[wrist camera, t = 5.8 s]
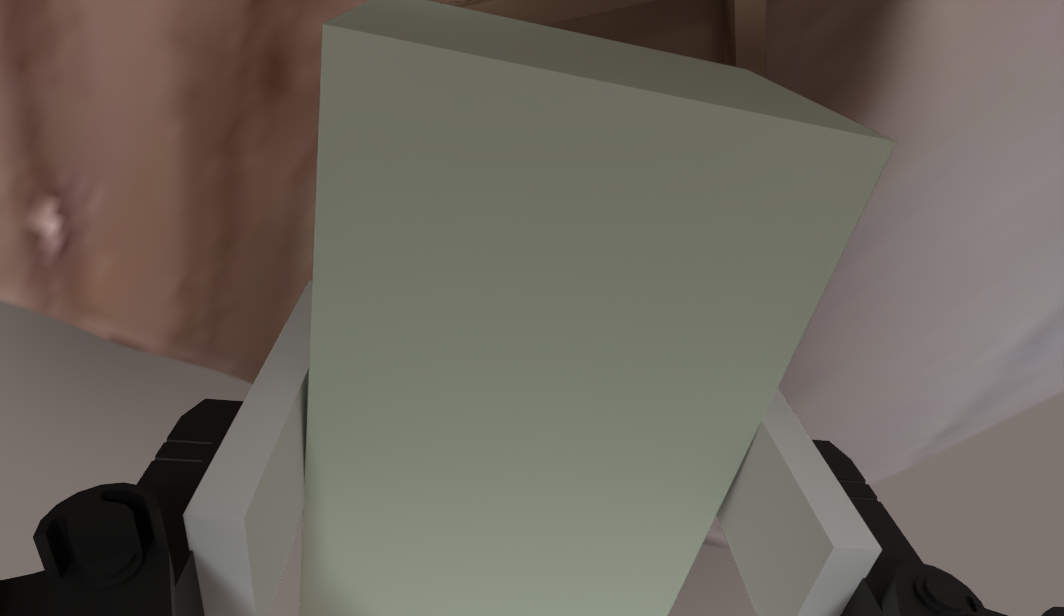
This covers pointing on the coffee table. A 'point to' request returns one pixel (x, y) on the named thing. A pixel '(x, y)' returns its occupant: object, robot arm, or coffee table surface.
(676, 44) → the peg frame
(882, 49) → the coffee table surface
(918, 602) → the robot arm
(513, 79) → the grey boxy block
